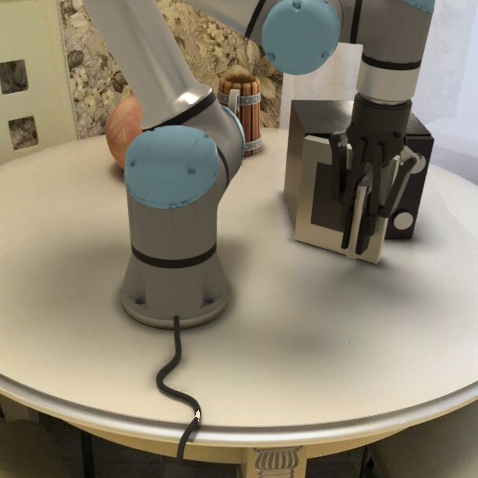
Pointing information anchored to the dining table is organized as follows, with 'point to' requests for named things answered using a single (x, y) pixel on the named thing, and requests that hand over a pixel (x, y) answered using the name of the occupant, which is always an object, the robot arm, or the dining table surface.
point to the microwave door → (335, 202)
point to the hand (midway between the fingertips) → (354, 247)
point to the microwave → (339, 118)
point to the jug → (123, 127)
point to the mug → (243, 105)
